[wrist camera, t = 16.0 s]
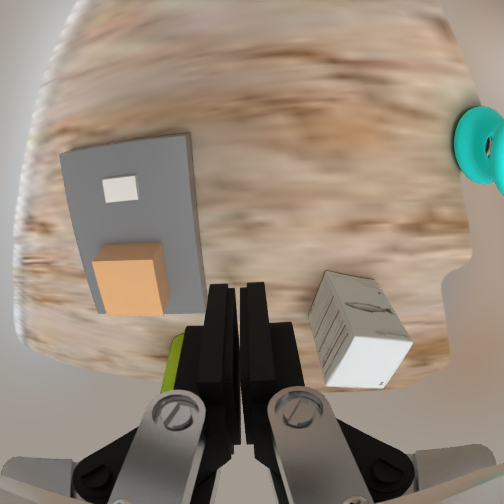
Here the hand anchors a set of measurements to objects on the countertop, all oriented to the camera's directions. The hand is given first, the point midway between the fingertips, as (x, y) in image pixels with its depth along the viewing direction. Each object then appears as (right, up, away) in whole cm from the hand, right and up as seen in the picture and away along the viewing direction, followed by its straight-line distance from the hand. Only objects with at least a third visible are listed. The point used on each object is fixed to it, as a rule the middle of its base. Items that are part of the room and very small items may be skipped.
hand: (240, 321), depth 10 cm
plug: (-12, +1, +27) cm, 29 cm away
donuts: (+29, +16, +21) cm, 39 cm away
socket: (-13, +5, +25) cm, 28 cm away
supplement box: (+12, -4, +30) cm, 33 cm away
